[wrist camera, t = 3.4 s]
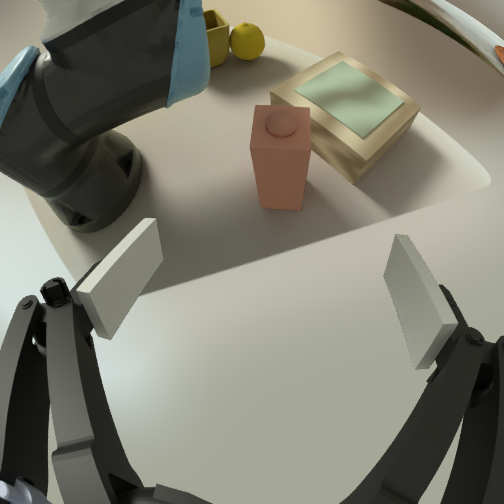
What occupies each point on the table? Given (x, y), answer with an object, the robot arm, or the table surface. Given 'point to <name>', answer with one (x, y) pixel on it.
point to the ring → (500, 52)
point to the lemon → (247, 41)
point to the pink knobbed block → (281, 154)
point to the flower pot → (217, 37)
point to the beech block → (348, 112)
